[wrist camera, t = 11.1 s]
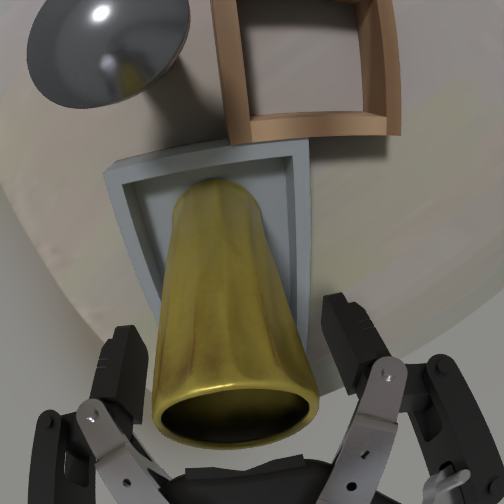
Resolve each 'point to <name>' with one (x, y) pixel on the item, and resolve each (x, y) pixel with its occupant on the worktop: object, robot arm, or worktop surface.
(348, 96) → the worktop surface
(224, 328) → the vase
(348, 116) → the holder
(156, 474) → the robot arm
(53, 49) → the knob post
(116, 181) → the tray
